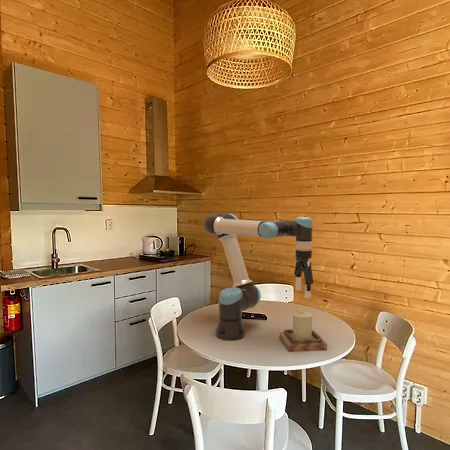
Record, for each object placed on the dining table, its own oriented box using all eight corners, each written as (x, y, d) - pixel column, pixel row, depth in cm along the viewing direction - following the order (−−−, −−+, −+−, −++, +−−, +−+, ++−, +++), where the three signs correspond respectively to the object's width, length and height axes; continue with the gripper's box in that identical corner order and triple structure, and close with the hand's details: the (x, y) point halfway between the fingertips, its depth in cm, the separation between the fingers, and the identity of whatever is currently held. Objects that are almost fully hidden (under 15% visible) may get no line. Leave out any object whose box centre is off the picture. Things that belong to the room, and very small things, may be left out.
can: (309, 333, 171) (309, 310, 170) (314, 341, 162) (314, 316, 161) (290, 334, 171) (290, 310, 170) (294, 341, 162) (295, 316, 161)
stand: (288, 351, 158) (289, 342, 158) (279, 338, 174) (279, 329, 173) (326, 349, 160) (327, 340, 160) (314, 336, 176) (314, 327, 175)
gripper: (321, 253, 152) (320, 301, 153) (302, 246, 177) (301, 287, 178) (304, 253, 151) (304, 301, 152) (288, 246, 176) (287, 287, 177)
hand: (302, 293), depth 165 cm, fingers open, 13 cm apart
